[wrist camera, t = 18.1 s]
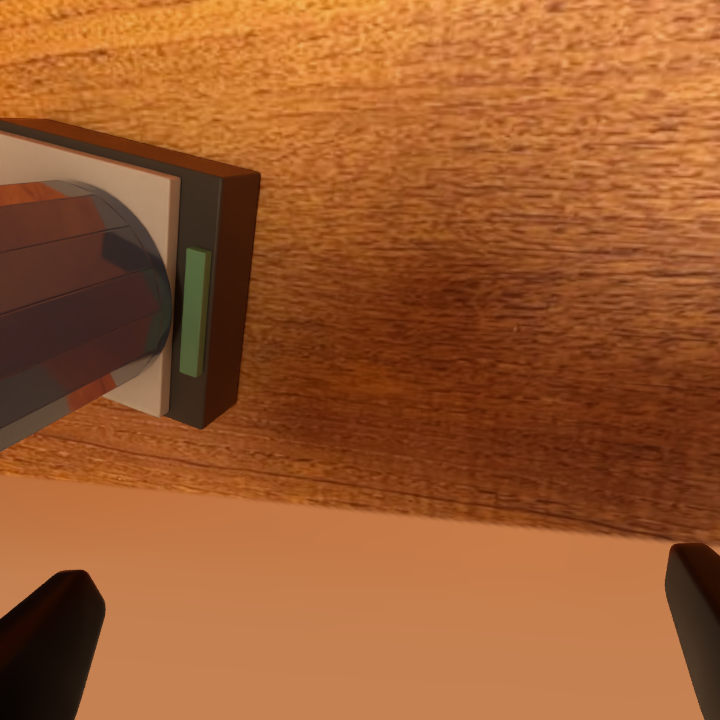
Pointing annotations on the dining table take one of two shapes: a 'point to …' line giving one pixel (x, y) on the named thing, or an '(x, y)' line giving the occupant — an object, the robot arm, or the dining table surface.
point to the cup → (73, 301)
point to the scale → (164, 251)
